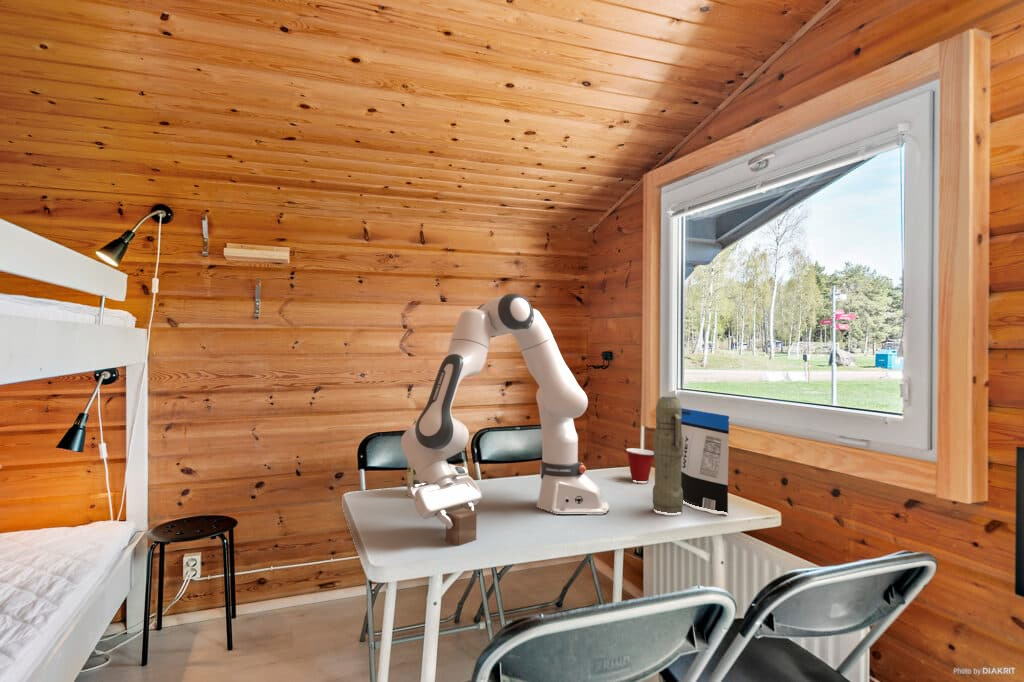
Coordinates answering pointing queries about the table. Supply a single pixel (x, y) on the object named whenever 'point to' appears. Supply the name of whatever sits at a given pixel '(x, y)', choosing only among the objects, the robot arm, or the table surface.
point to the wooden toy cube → (462, 526)
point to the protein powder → (705, 459)
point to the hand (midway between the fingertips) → (463, 523)
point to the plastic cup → (640, 463)
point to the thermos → (668, 456)
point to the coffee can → (411, 479)
